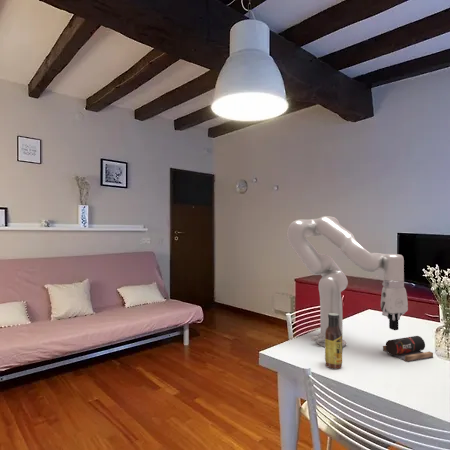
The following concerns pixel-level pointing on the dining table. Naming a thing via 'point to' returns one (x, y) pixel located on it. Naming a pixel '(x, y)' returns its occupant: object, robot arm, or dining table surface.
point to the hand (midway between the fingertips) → (393, 329)
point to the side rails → (415, 356)
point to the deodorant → (405, 345)
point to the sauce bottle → (333, 342)
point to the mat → (402, 356)
